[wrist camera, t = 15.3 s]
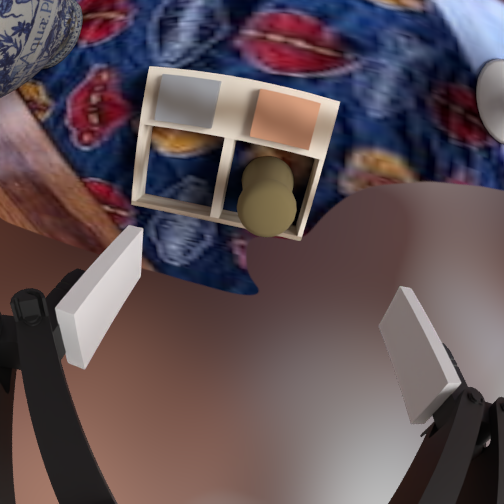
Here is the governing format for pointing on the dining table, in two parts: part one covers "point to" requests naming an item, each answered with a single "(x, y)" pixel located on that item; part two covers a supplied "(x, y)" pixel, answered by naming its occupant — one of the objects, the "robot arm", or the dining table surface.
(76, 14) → the decorative vase
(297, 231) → the socket board
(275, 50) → the dining table surface
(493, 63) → the chalice
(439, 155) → the dining table surface
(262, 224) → the cork
